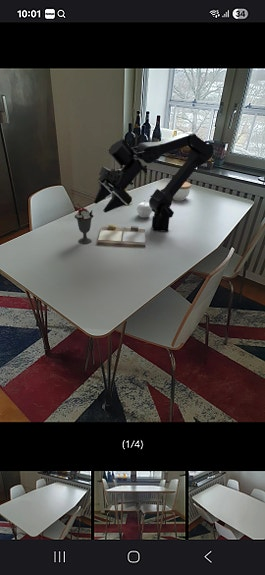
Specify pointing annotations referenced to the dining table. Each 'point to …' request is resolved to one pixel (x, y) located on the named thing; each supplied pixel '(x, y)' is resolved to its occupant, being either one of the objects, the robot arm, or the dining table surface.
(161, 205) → the robot arm
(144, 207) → the plain white apple
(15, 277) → the dining table surface
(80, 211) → the sundae
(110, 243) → the board
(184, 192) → the lidded jar
